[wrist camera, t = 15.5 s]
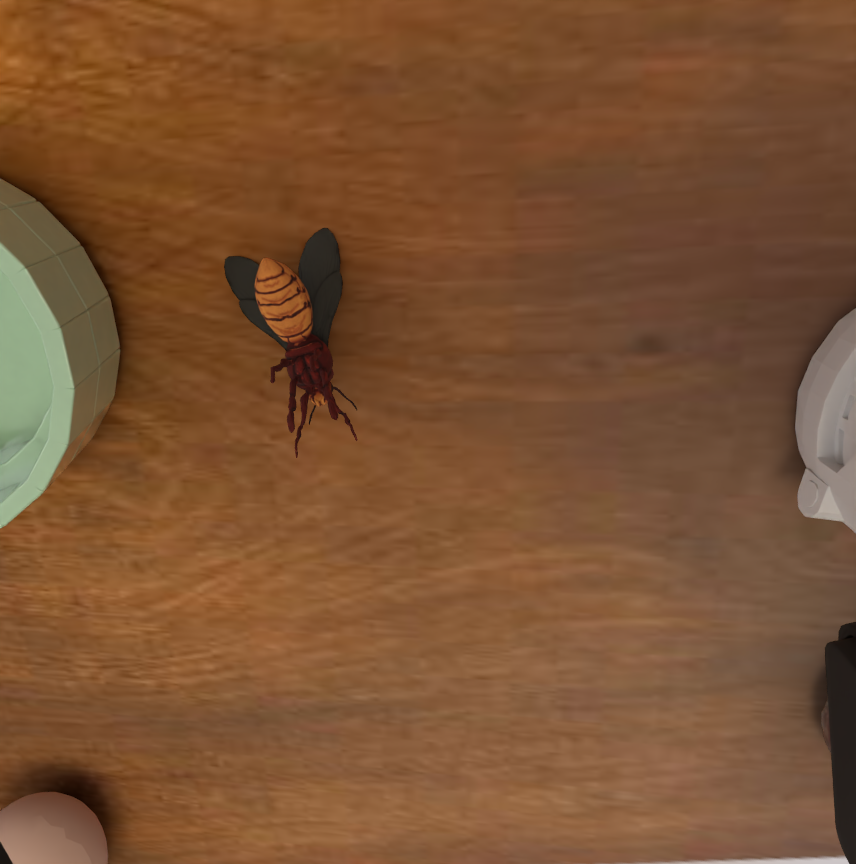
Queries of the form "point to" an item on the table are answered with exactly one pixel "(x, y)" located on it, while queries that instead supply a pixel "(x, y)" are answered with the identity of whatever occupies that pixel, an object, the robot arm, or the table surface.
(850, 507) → the lantern
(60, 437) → the bowl
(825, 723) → the candle
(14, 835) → the egg
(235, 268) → the insect
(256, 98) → the table surface
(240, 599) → the table surface
